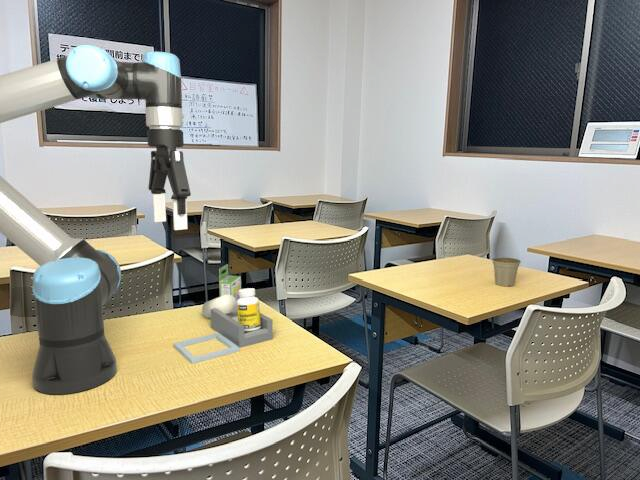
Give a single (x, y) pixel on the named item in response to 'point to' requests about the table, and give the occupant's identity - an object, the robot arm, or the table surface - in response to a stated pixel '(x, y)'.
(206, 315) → the white thermos bottle
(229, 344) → the grey square frame
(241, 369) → the table surface
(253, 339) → the grey cubby shelf
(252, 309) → the supplement bottle
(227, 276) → the ink box
